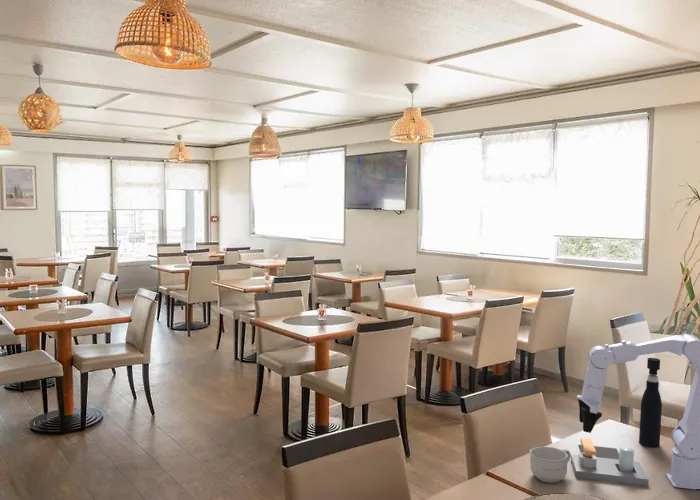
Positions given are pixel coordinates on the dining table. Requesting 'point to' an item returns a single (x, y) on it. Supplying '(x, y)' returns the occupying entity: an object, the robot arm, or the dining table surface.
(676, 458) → the robot arm
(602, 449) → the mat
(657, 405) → the black bottle
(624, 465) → the cylinder
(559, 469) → the teacup
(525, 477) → the dining table surface
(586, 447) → the plunger
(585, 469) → the housing
